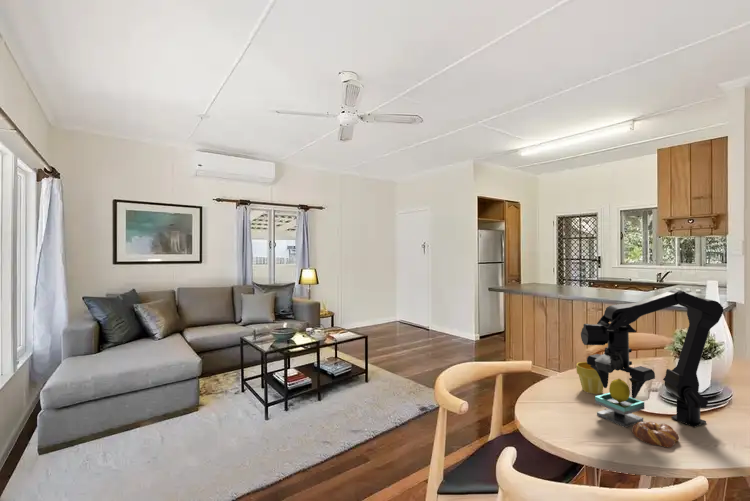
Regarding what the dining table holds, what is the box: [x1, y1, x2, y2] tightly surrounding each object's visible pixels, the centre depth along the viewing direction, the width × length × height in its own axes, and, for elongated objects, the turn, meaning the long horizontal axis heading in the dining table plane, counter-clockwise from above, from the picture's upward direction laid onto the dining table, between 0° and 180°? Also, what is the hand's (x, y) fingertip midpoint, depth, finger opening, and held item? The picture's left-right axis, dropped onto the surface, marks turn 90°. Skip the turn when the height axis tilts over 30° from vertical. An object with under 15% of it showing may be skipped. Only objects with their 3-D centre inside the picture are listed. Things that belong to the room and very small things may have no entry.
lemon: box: [608, 378, 631, 403], centre depth 118 cm, size 6×6×8 cm
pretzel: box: [631, 421, 680, 448], centre depth 107 cm, size 12×11×4 cm
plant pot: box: [575, 361, 604, 395], centre depth 140 cm, size 10×10×10 cm
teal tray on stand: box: [594, 392, 645, 428], centre depth 118 cm, size 10×10×6 cm
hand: (619, 392), depth 118 cm, fingers open, 9 cm apart
